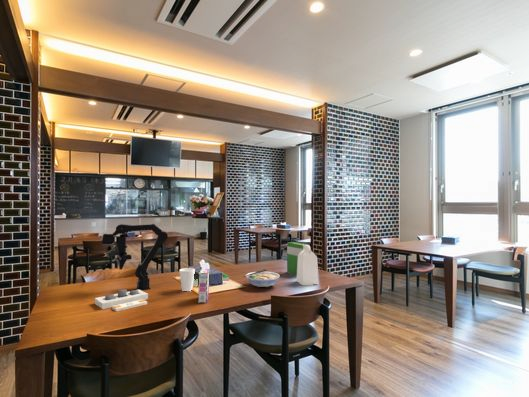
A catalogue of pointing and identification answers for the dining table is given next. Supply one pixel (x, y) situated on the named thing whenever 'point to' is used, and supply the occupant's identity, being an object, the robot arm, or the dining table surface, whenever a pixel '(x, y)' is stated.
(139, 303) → the pattern card
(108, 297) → the button
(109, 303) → the button board
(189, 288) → the foam cup
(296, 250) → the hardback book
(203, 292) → the candy bar box
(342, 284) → the dining table surface
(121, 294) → the button middle
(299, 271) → the milk
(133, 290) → the button
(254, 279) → the ramen bowl
